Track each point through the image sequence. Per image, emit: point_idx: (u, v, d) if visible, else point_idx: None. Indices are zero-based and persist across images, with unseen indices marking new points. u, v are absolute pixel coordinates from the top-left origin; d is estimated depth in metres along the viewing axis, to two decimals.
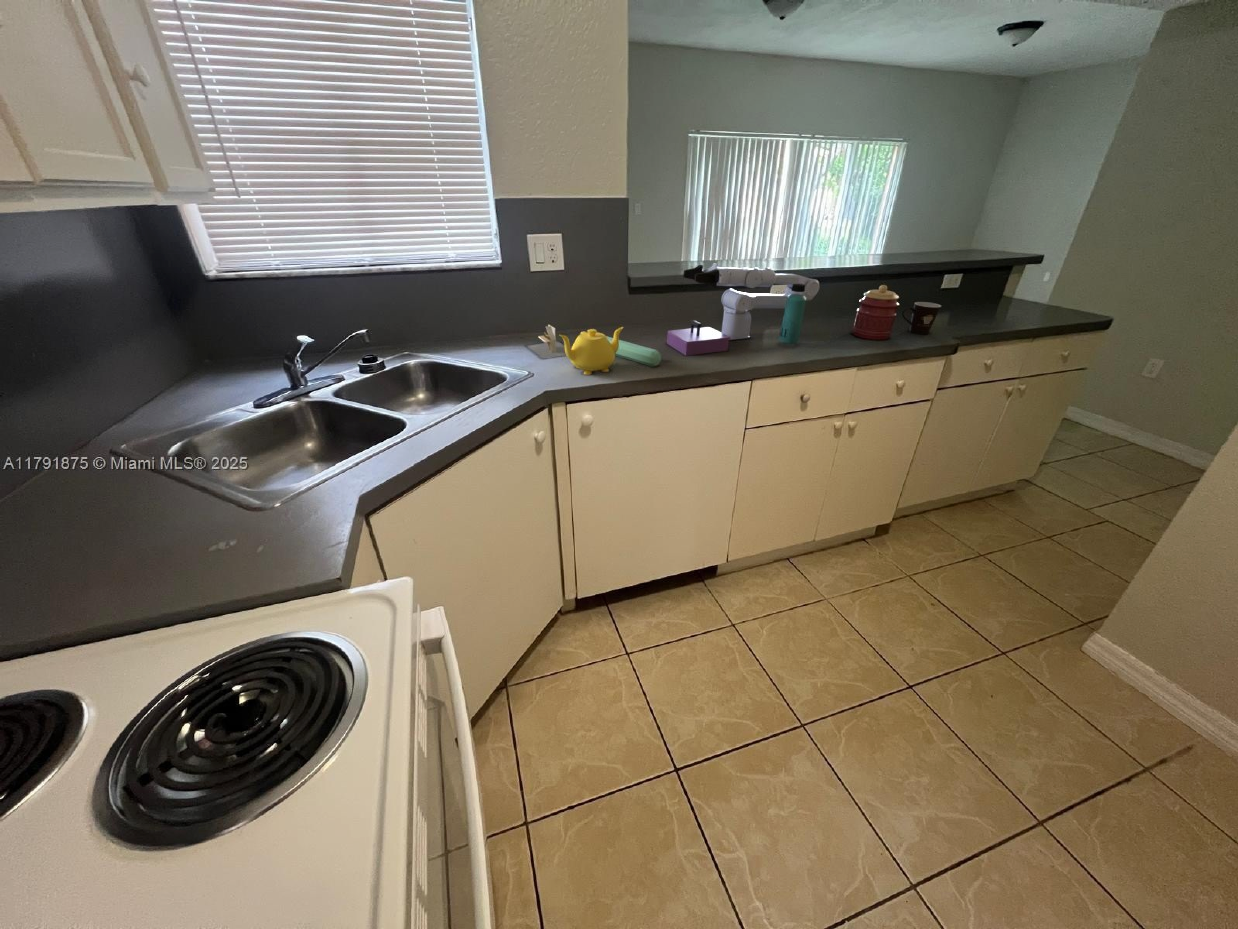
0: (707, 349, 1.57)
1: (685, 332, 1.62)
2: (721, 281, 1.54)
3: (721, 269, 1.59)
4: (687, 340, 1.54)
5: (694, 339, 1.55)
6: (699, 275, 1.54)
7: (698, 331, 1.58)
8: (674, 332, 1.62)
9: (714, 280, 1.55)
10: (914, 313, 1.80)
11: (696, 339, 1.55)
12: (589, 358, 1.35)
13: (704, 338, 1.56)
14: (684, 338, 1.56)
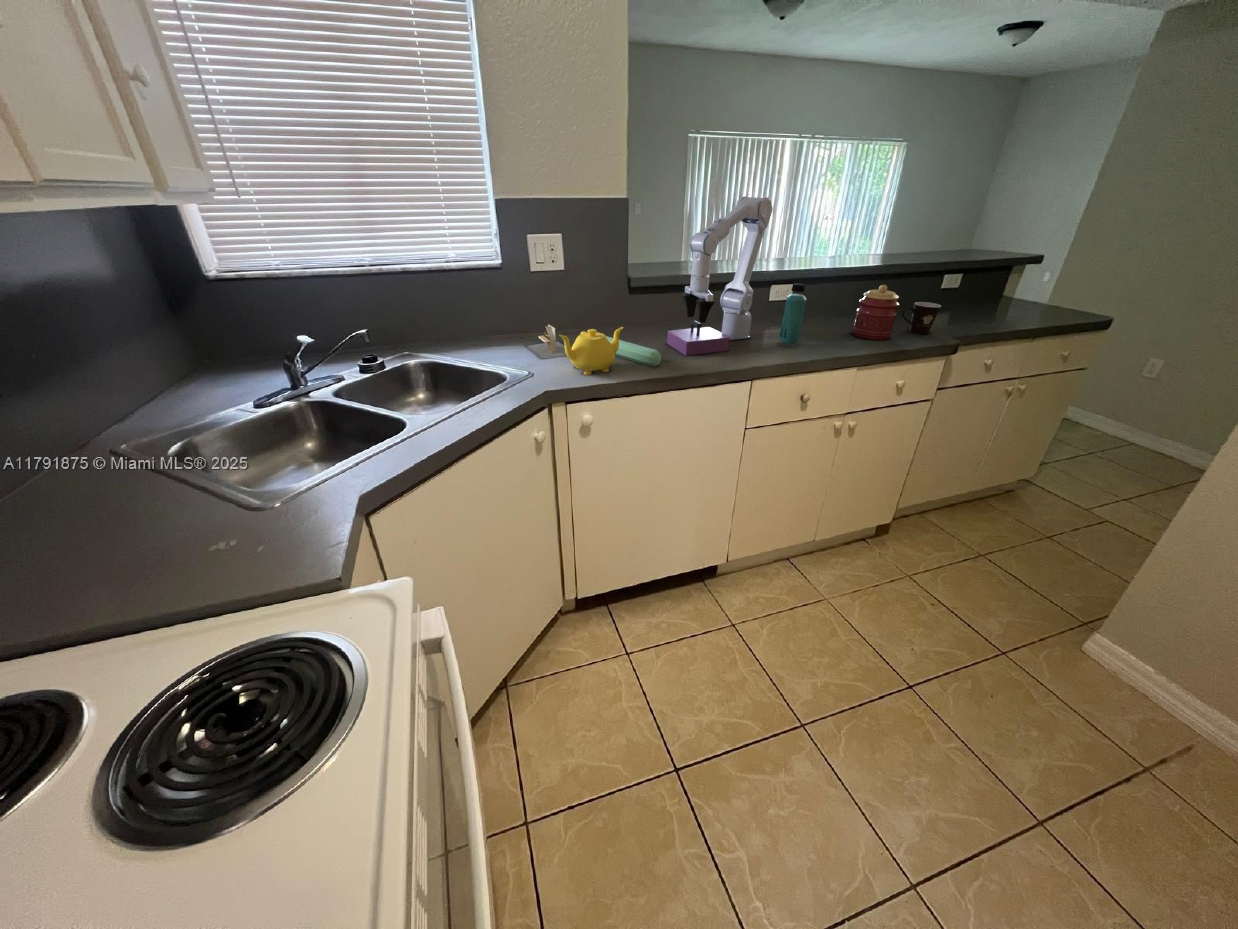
0: (707, 349, 1.57)
1: (685, 332, 1.62)
2: (711, 299, 1.48)
3: (694, 286, 1.50)
4: (687, 340, 1.54)
5: (694, 339, 1.55)
6: (701, 319, 1.53)
7: (698, 331, 1.58)
8: (674, 332, 1.62)
9: None
10: (914, 313, 1.80)
11: (696, 339, 1.55)
12: (589, 358, 1.35)
13: (704, 338, 1.56)
14: (684, 338, 1.56)
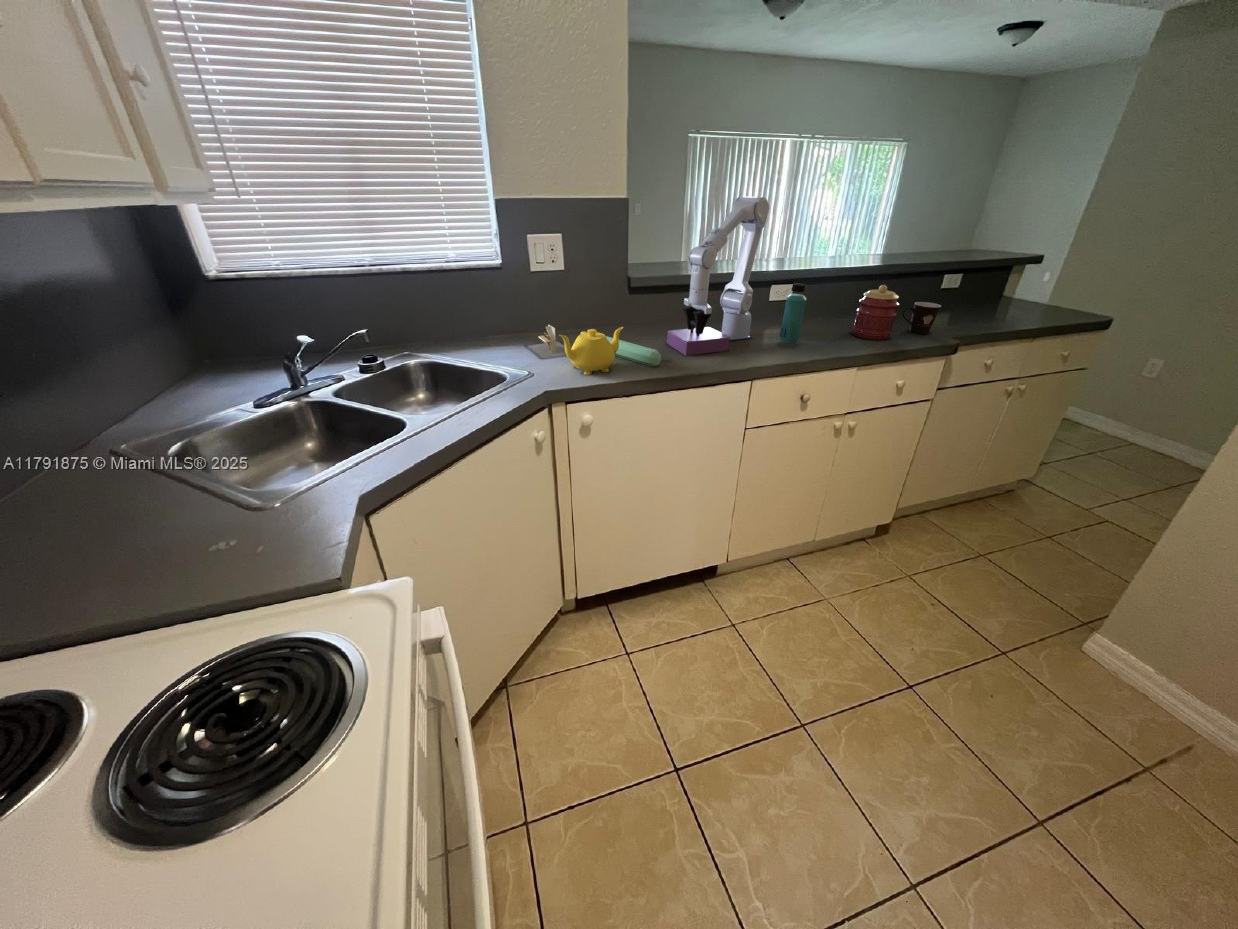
0: (707, 349, 1.57)
1: (685, 332, 1.62)
2: (710, 312, 1.50)
3: (693, 298, 1.52)
4: (687, 340, 1.54)
5: (694, 339, 1.55)
6: (698, 330, 1.56)
7: None
8: (674, 332, 1.62)
9: None
10: (914, 313, 1.80)
11: (696, 339, 1.55)
12: (589, 358, 1.35)
13: (704, 338, 1.56)
14: (684, 338, 1.56)
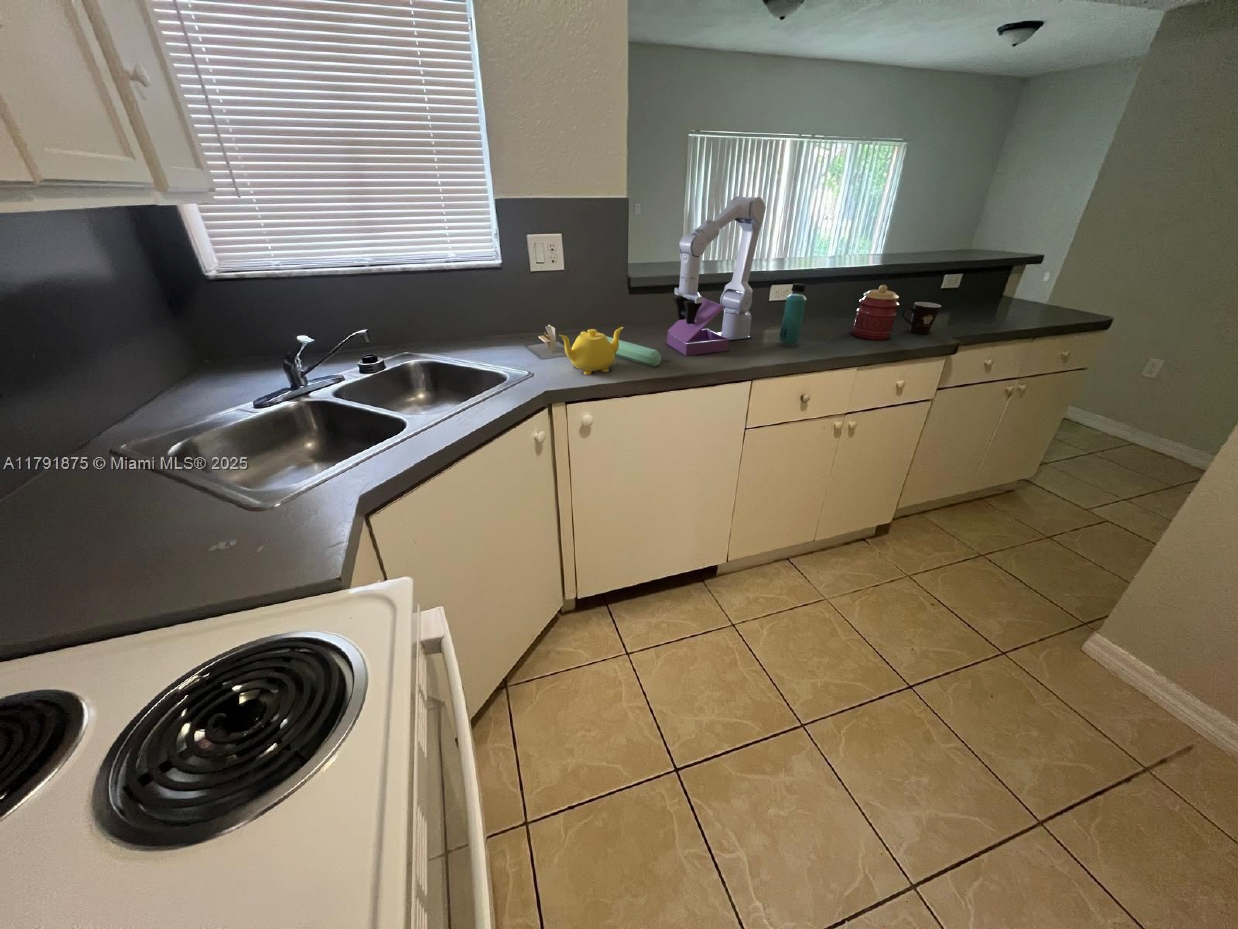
0: (707, 349, 1.57)
1: (682, 324, 1.60)
2: (700, 301, 1.47)
3: (683, 288, 1.49)
4: (686, 339, 1.54)
5: (692, 333, 1.54)
6: (688, 320, 1.53)
7: None
8: (673, 330, 1.61)
9: None
10: (914, 313, 1.80)
11: (694, 331, 1.53)
12: (589, 358, 1.35)
13: (701, 325, 1.53)
14: (683, 336, 1.55)
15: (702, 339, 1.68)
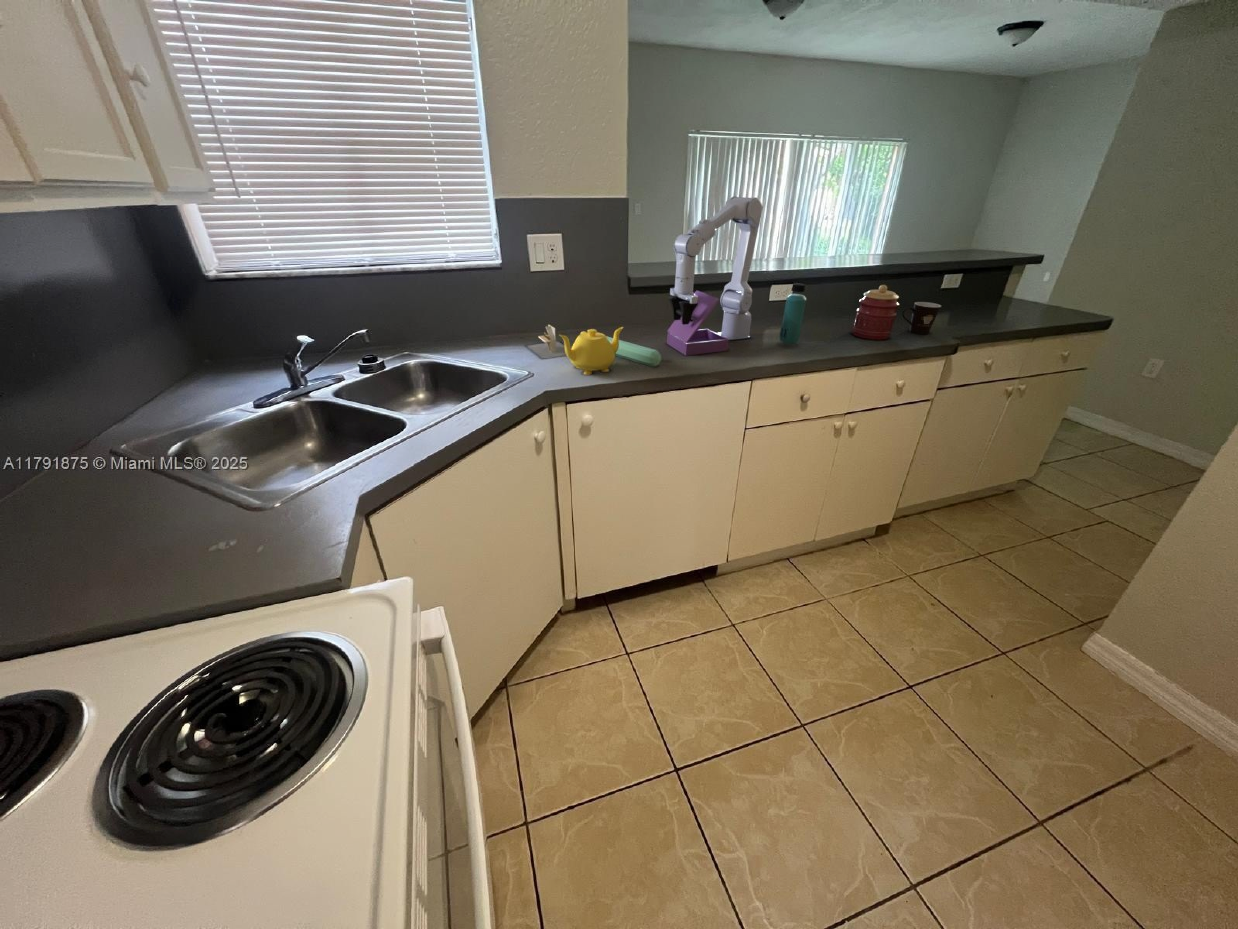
0: (707, 349, 1.57)
1: (681, 322, 1.59)
2: (695, 302, 1.47)
3: (679, 288, 1.49)
4: (686, 338, 1.53)
5: (690, 331, 1.53)
6: (684, 321, 1.53)
7: None
8: (672, 330, 1.61)
9: None
10: (914, 313, 1.80)
11: (692, 330, 1.53)
12: (589, 358, 1.35)
13: (698, 321, 1.52)
14: (682, 336, 1.55)
15: (702, 339, 1.68)
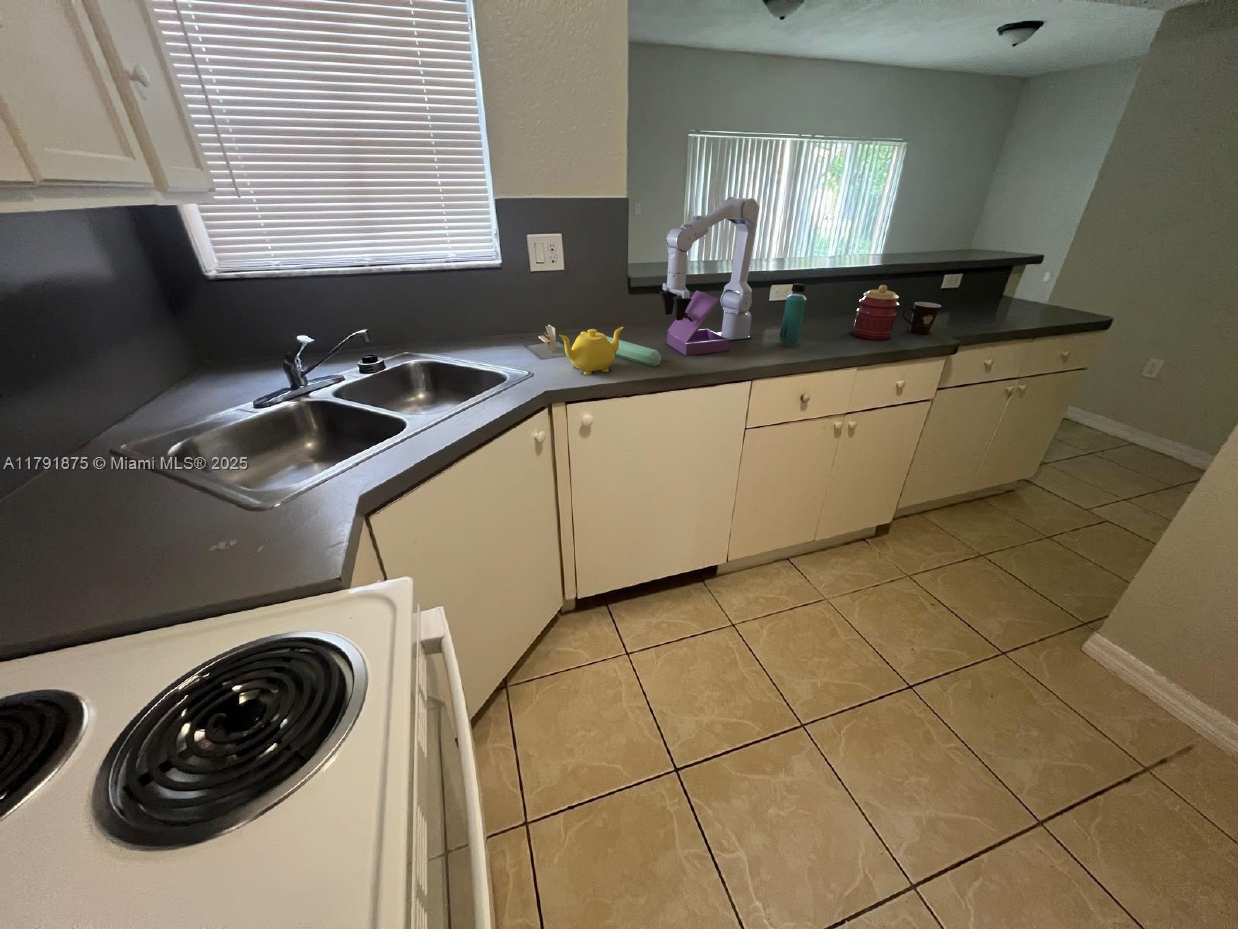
0: (707, 349, 1.57)
1: (681, 322, 1.59)
2: (687, 296, 1.46)
3: (671, 283, 1.48)
4: (686, 338, 1.53)
5: (690, 331, 1.53)
6: (678, 317, 1.51)
7: (689, 318, 1.54)
8: (672, 330, 1.61)
9: None
10: (914, 313, 1.80)
11: (692, 330, 1.53)
12: (589, 358, 1.35)
13: (698, 321, 1.52)
14: (682, 336, 1.55)
15: (702, 339, 1.68)
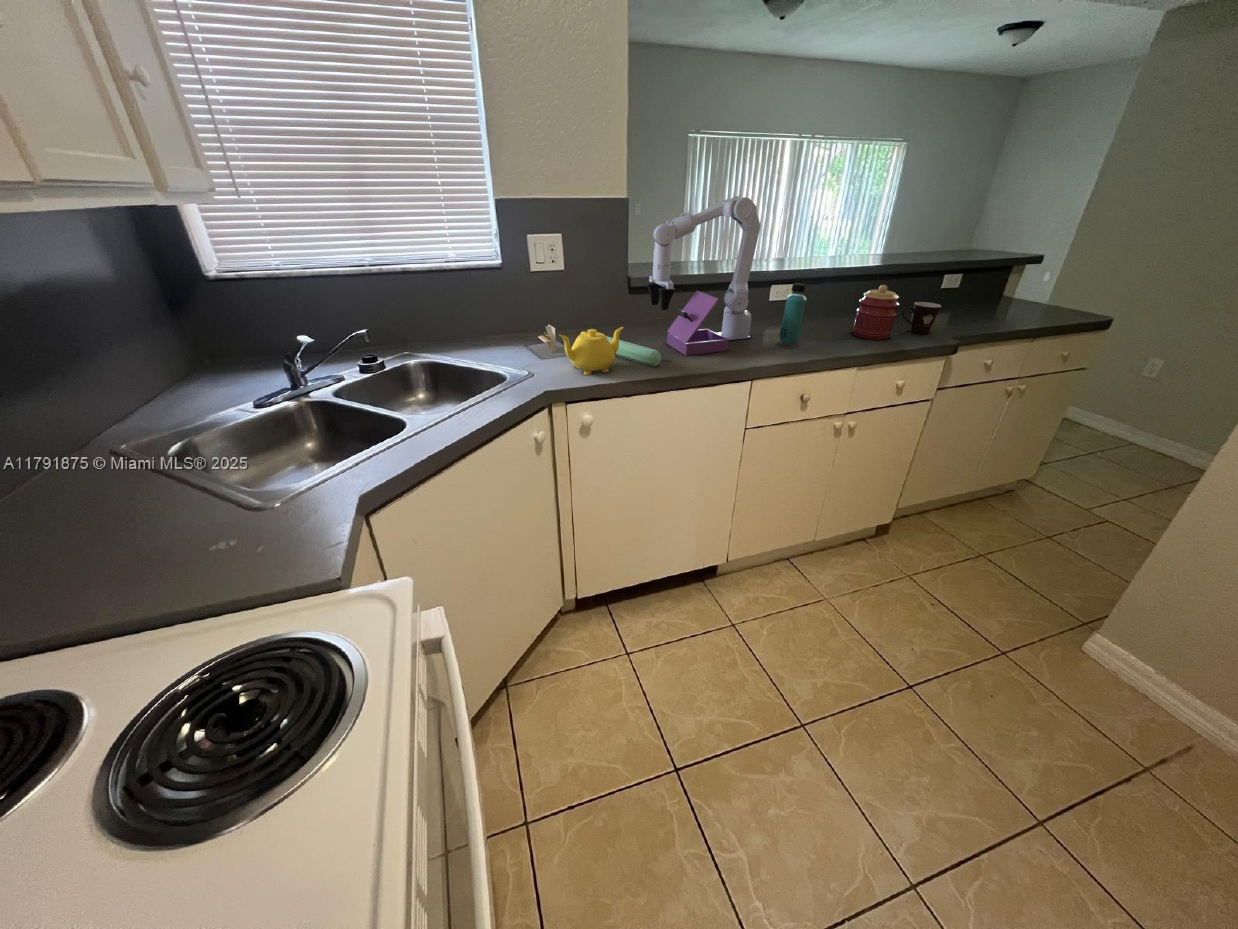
0: (707, 349, 1.57)
1: (681, 322, 1.59)
2: (671, 287, 1.58)
3: (656, 275, 1.60)
4: (686, 338, 1.53)
5: (690, 331, 1.53)
6: (663, 306, 1.63)
7: (689, 318, 1.54)
8: (672, 330, 1.61)
9: None
10: (914, 313, 1.80)
11: (692, 330, 1.53)
12: (589, 358, 1.35)
13: (698, 321, 1.52)
14: (682, 336, 1.55)
15: (702, 339, 1.68)
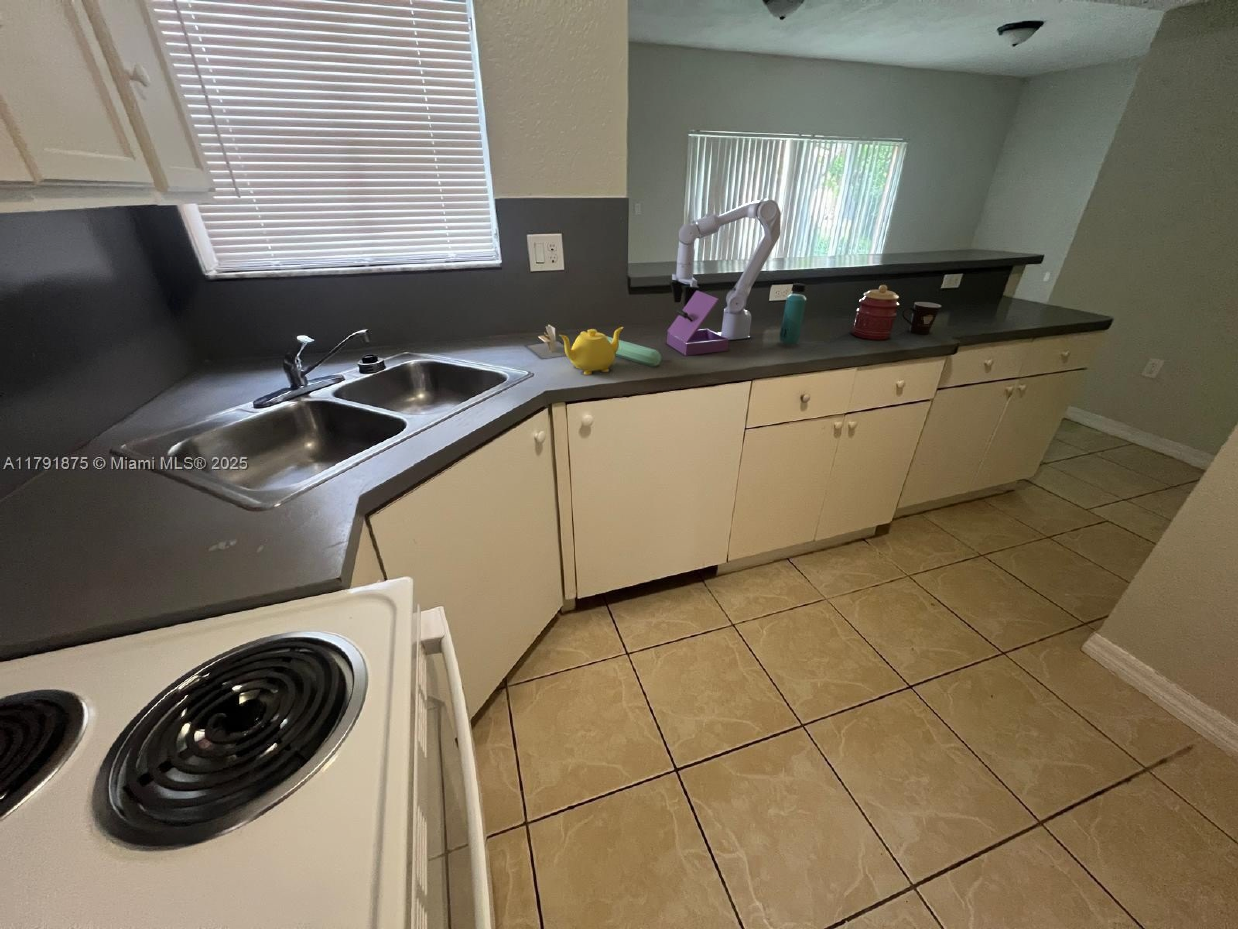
0: (707, 349, 1.57)
1: (681, 322, 1.59)
2: (695, 285, 1.61)
3: (680, 273, 1.64)
4: (686, 338, 1.53)
5: (690, 331, 1.53)
6: None
7: (689, 318, 1.54)
8: (672, 330, 1.61)
9: None
10: (914, 313, 1.80)
11: (692, 330, 1.53)
12: (589, 358, 1.35)
13: (698, 321, 1.52)
14: (682, 336, 1.55)
15: (702, 339, 1.68)
